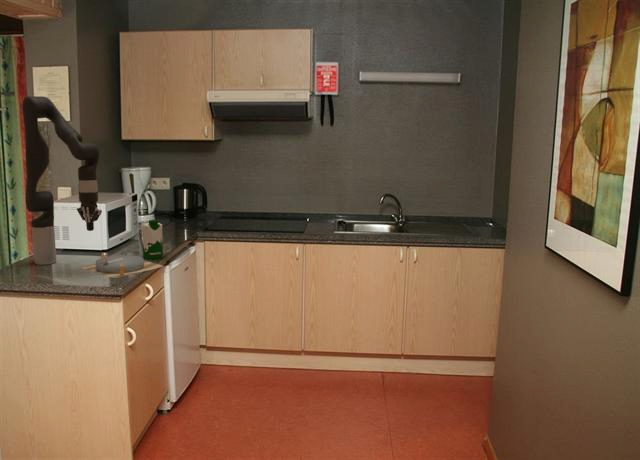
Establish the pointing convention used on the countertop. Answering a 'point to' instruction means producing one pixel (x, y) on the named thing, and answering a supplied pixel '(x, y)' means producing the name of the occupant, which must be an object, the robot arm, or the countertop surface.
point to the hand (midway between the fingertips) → (90, 230)
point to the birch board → (114, 275)
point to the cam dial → (119, 263)
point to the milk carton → (152, 240)
